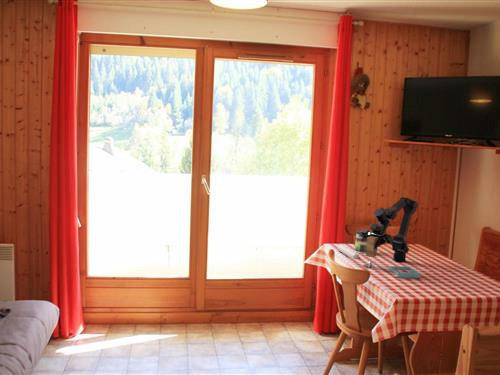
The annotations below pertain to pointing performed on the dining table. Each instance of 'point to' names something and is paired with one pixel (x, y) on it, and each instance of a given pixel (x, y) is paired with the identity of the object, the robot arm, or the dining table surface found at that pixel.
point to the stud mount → (370, 266)
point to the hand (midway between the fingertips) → (370, 247)
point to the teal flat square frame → (405, 275)
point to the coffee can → (360, 242)
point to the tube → (347, 251)
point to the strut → (371, 246)
